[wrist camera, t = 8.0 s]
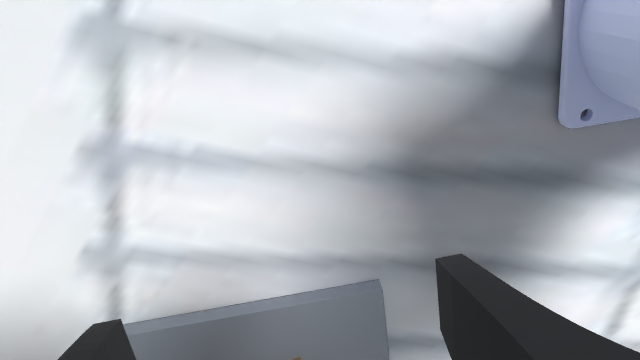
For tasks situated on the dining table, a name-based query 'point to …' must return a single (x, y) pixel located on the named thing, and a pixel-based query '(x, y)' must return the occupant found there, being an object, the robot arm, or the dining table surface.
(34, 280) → the dining table surface
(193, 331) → the slate coaster
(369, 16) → the dining table surface
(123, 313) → the dining table surface
